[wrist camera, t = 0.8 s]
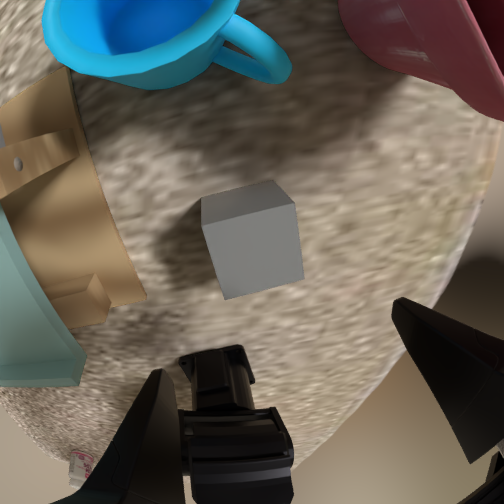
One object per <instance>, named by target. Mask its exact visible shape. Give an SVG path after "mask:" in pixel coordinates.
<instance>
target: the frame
mask: <svg viewBox="0 0 504 504" xmlns="http://www.w3.org/2000/svg"><path fill="white" fill-rule="evenodd" d="M0 124H1V129H2V133H3V137H4V141H5V145H6V147H3V148H0V203H1V206H2V208H3V211H4V213H5V216H6V218H7V221H8V223H9V225H10V228H11V230H12V232H13V234H14V237H15V239H16V241H17V243H18V245H19V247H20V249H21V251H22V253H23V255H24V257H25V259H26V261H27V263H28V265H29V267H30V269H31V271H32V273H33V274H34V276H35V278H36V280H37V281H38V283H39V285H40V287H41V288H42V290H43V292H44V293H45V295H46V297H47V298H48V300H49V302H50V303H51V305H52V306H53V308H54V309H55V311H56V313H57V314H58V316H59V317H60V319H61V320H62V321H63V323H64V324H65V326H66V327H67V329H74V328H79V327H84V326H89V325H94V324H99V323H104V322H105V320H106V317H107V314H108V311H109V308H113V307H117V306H122V305H126V304H130V303H134V302H139V301H143V300H146V297H147V294H146V292H145V290H144V288H143V286H142V284H141V282H140V280H139V278H138V276H137V274H136V272H135V269H134V267H133V265H132V263H131V261H130V258H129V256H128V254H127V251H126V249H125V247H124V245H123V242H122V240H121V237H120V235H119V233H118V230H117V228H116V225H115V223H114V220H113V218H112V215H111V212H110V210H109V207H108V205H107V202H106V199H105V196H104V194H103V191H102V188H101V185H100V182H99V179H98V176H97V173H96V170H95V167H94V164H93V161H92V158H91V155H90V151H89V148H88V145H87V141H86V138H85V134H84V130H83V127H82V123H81V119H80V115H79V111H78V107H77V103H76V98H75V94H74V89H73V84H72V79H71V74H70V69H69V67H68V66H64V67H62V68H60V69H58V70H57V71H55V72H53V73H51V74H50V75H48V76H46V77H44V78H43V79H41V80H40V81H38V82H36V83H35V84H33V85H32V86H30V87H29V88H27V89H26V90H24V91H23V92H21V93H20V94H18V95H17V96H15V97H14V98H12V99H11V100H10V101H8V102H7V103H6V104H4V105H3V106H2V107H0Z"/></svg>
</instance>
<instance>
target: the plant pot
mask: <svg viewBox="0 0 504 504" xmlns="http://www.w3.org/2000/svg"><path fill="white" fill-rule="evenodd" d="M338 9H339V14H340V17H341V20H342V23H343V25H344V27H345V29H346V31H347V33H348V35H349V36H350V38H351V39H352V40H353V42H354V43H355V44H356V45H357V47H358V48H359V49H360V50H361V51H362V52H363V53H364V54H366V55H367V56H368V57H369V58H370V59H372V60H373V61H375V62H376V63H378V64H379V65H381V66H383V67H385V68H388V69H390V70H394V71H397V72H401V73H405V74H408V75H411V76H414V77H417V78H420V79H423V80H426V81H429V82H432V83H435V84H438V85H441V86H444V87H446V88H449V89H452V90H453V91H454V92H455V93H456V94H457V95H458V96H459V97H460V98H461V99H462V100H463V101H465V102H466V103H467V104H468V105H469V106H470V107H472V108H473V109H475V110H476V111H478V112H479V113H481V114H483V115H485V116H488V117H491V118H494V119H497V120H500V121H503V122H504V0H338Z"/></svg>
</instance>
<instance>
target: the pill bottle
mask: <svg viewBox="0 0 504 504" xmlns="http://www.w3.org/2000/svg"><path fill="white" fill-rule="evenodd" d="M92 466H93V457H92V456H91V455H89V454H87V453H85V452H82V451H78V450H73V451H72V452H71V459H70V466H69V477H70V478H71V479H70V482H69V483H70V484H69V485H70V486H71V487H73V488H75V489H78V490H79V489H80V487H81V486H82V485H83V484H84V482H85V481H86V479H87V478H88V476H89V475H90V474H91V472H92Z"/></svg>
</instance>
